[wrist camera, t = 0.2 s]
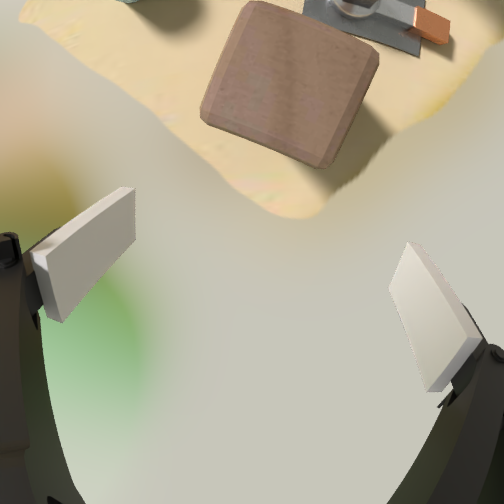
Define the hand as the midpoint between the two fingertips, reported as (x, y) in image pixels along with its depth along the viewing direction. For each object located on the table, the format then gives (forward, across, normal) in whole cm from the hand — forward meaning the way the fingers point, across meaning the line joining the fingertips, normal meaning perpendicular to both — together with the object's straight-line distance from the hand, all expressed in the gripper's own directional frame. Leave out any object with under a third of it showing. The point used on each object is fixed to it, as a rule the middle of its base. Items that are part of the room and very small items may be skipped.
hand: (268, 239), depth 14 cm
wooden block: (+28, 0, +8) cm, 29 cm away
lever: (+28, +9, +23) cm, 37 cm away
